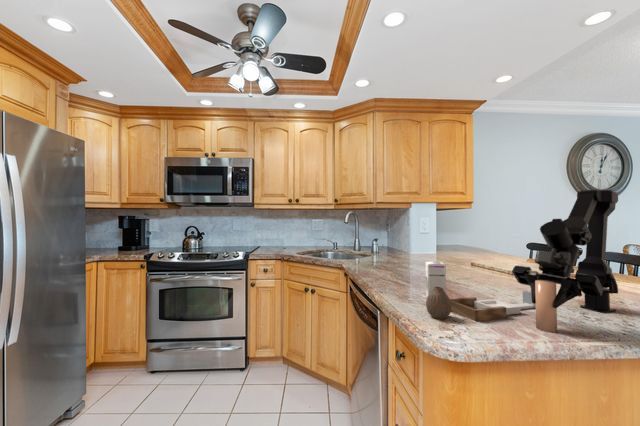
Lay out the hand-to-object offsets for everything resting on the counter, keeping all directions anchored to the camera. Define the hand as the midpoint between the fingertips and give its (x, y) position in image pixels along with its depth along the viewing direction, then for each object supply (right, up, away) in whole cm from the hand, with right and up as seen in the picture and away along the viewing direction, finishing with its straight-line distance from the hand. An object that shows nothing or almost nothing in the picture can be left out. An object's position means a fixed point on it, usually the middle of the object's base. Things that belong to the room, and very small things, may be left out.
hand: (543, 304), depth 75 cm
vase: (-23, -7, +10) cm, 26 cm away
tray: (+3, -7, +18) cm, 19 cm away
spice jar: (+1, -7, +1) cm, 7 cm away
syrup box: (-20, -7, +21) cm, 30 cm away
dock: (-10, -7, +14) cm, 19 cm away
